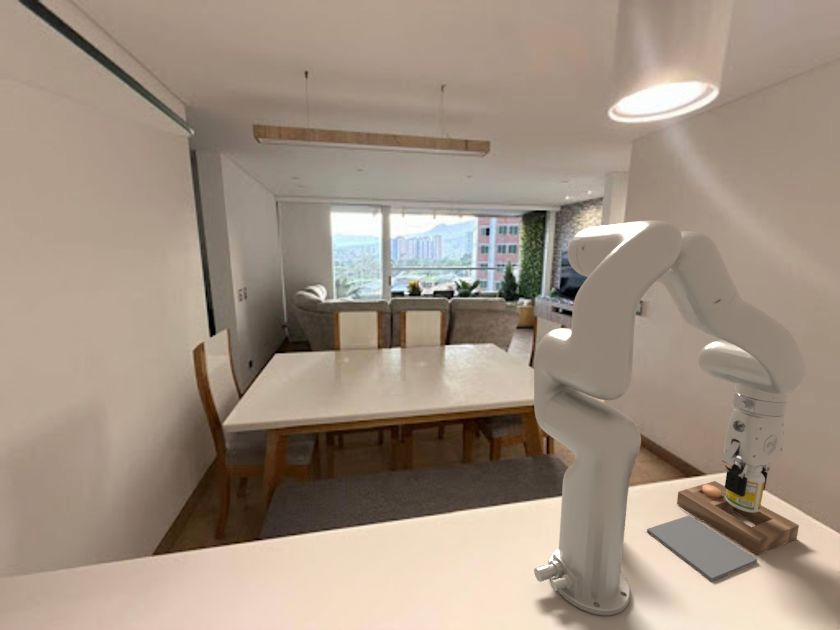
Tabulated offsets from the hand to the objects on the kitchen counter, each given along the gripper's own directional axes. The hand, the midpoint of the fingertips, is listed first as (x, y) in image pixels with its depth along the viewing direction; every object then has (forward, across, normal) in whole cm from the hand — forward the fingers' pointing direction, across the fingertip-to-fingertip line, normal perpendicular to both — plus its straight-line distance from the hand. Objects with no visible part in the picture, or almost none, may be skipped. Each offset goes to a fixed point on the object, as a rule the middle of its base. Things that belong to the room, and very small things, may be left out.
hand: (744, 488), depth 73 cm
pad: (+9, -13, -1) cm, 16 cm away
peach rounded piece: (+8, +1, +6) cm, 10 cm away
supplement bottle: (+4, 0, 0) cm, 4 cm away
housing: (+8, +1, +2) cm, 9 cm away
